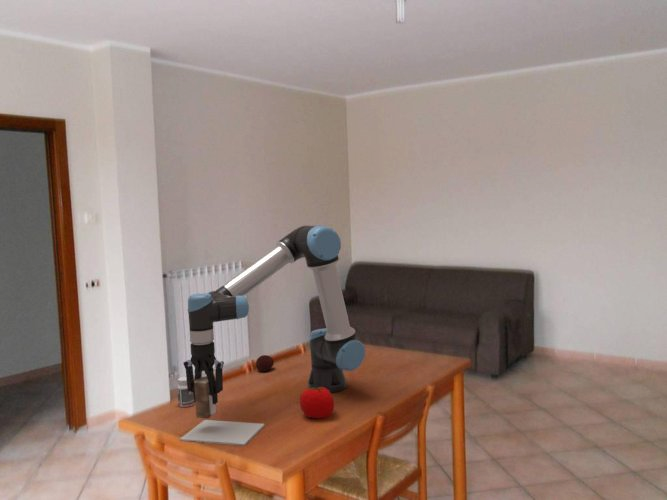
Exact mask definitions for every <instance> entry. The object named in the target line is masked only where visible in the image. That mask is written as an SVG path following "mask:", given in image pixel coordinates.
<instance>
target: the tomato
mask: <svg viewBox="0 0 667 500" xmlns="http://www.w3.org/2000/svg"><path fill="white" fill-rule="evenodd" d="M299 406H300V408H301V411H302V413H303V414H304V416H306V417H309V418H312V419H326V418H329V417H331V415H332V414H333V412H334V408H335V407H334V406H335V401H334V398H333V395H332V393H330V391H329V389H326V388H325V387H316V388H309V389H308V388H306V389H304V390H303V391H302V392H301V394H300V397H299Z"/></svg>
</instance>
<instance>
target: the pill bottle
mask: <svg viewBox="0 0 667 500" xmlns="http://www.w3.org/2000/svg"><path fill="white" fill-rule="evenodd" d="M177 383H178V385H177V388H176V389H177V402H178V403H177V404H178V406H179V407H180V408H187V407H192V406H193V405H195V402H194V394H193V392H191V391H190V392H189V391H188V389H187V378H186V376H181V377H179V378H178V379H177Z"/></svg>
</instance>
